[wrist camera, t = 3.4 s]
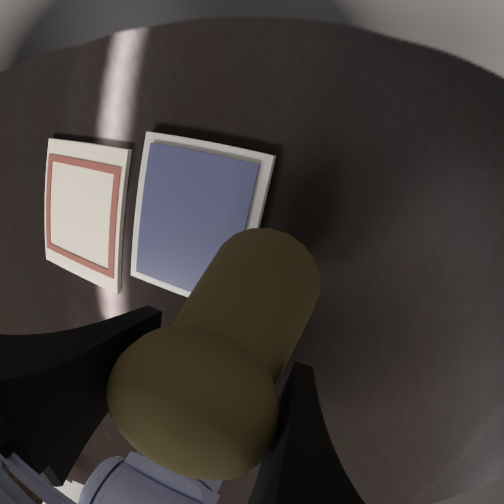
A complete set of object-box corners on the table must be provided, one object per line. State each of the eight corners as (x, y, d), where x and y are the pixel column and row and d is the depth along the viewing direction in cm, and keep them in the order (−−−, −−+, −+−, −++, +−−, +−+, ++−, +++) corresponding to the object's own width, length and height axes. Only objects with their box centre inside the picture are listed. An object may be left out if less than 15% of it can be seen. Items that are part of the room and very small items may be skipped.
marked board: (120, 292, 25) (116, 294, 24) (49, 257, 27) (45, 259, 26) (132, 149, 21) (127, 149, 20) (52, 138, 22) (48, 138, 22)
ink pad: (240, 310, 22) (235, 317, 21) (135, 271, 24) (128, 276, 23) (276, 155, 18) (273, 156, 17) (151, 131, 20) (143, 131, 19)
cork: (199, 237, 17) (43, 352, 7) (310, 218, 15) (245, 371, 5) (227, 332, 18) (133, 479, 8) (328, 325, 16) (295, 513, 6)
